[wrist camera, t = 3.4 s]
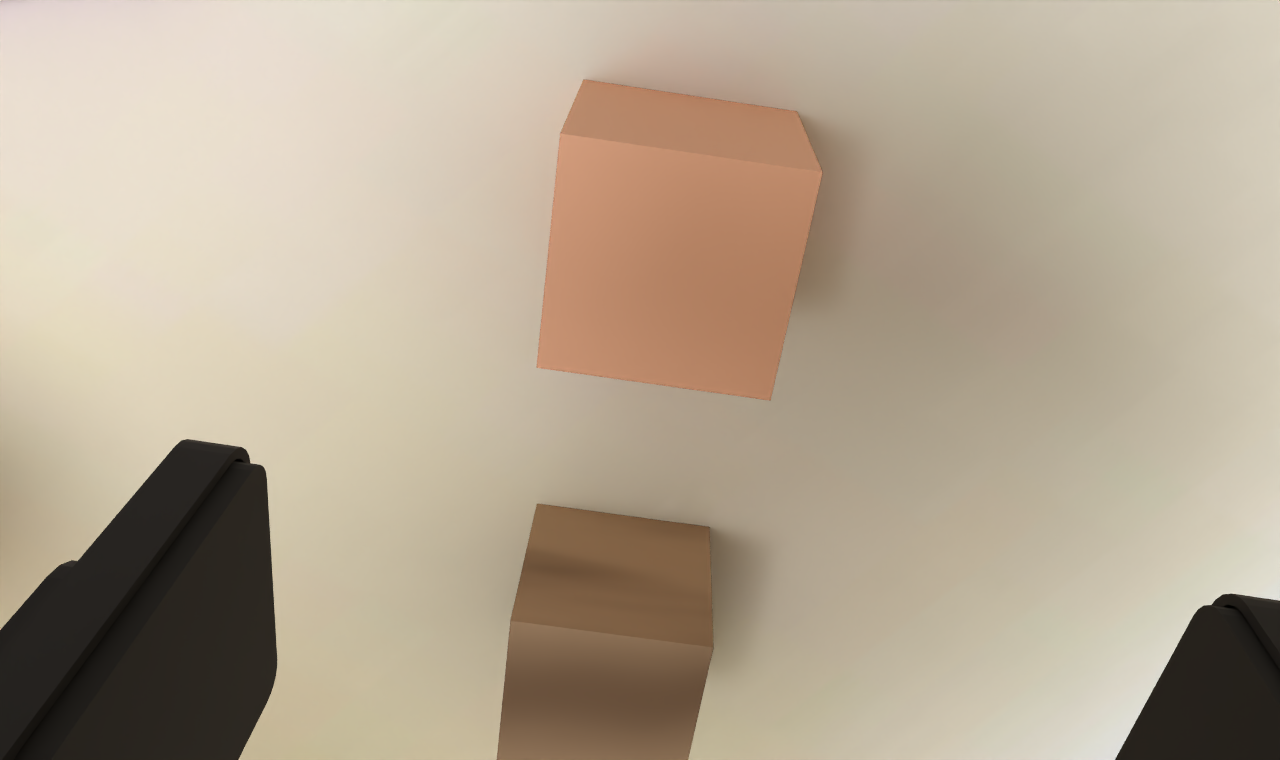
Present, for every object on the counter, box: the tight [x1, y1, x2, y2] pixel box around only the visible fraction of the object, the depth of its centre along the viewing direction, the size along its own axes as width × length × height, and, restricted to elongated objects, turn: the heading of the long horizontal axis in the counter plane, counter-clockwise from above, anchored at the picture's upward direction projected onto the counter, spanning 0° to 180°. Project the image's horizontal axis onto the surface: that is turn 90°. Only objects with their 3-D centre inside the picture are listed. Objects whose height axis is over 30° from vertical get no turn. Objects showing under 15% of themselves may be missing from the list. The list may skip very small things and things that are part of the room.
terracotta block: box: [537, 80, 823, 400], centre depth 22 cm, size 5×5×5 cm
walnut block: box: [497, 504, 713, 760], centre depth 28 cm, size 5×5×5 cm
